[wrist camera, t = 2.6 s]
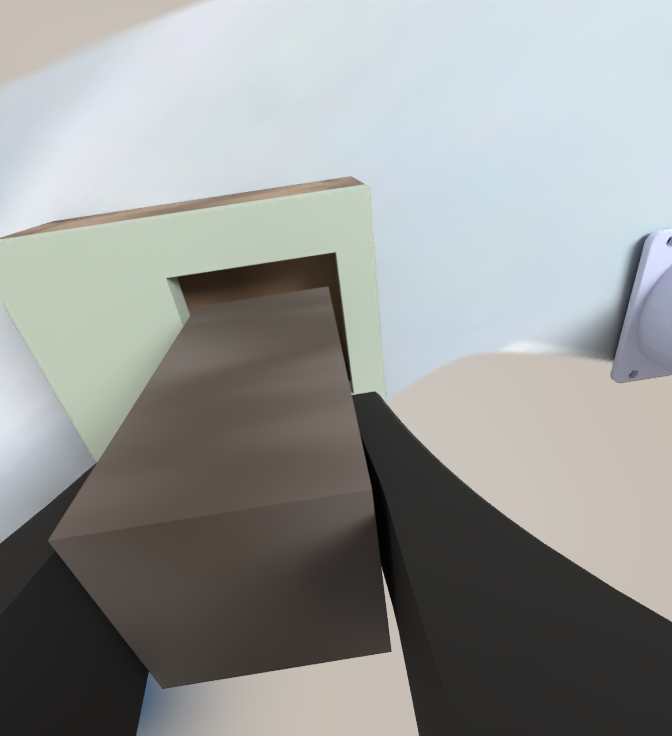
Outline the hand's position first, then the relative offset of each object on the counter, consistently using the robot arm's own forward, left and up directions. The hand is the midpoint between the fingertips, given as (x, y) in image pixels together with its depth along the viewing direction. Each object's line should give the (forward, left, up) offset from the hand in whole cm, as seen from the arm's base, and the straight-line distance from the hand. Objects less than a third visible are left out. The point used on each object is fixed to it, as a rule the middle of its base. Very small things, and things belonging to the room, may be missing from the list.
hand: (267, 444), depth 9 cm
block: (0, 0, -4) cm, 4 cm away
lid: (+2, +4, -7) cm, 8 cm away
